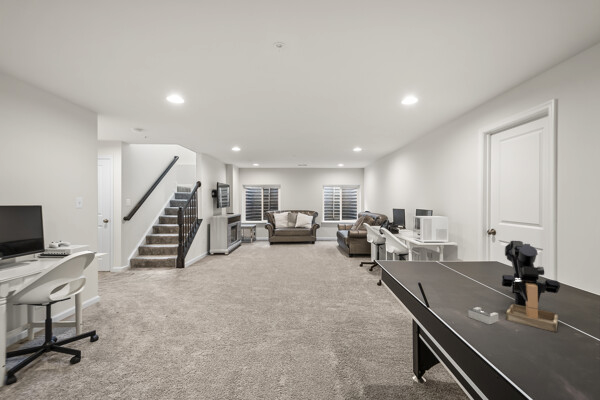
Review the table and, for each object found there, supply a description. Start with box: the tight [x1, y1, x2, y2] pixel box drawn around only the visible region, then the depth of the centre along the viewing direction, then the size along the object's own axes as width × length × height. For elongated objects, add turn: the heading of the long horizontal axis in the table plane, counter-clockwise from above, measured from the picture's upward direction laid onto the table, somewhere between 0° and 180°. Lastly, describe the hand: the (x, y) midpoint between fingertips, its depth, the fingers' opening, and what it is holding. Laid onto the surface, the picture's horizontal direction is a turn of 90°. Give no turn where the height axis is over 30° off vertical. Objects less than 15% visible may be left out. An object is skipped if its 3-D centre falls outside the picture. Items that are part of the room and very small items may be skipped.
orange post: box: [526, 283, 539, 319], centre depth 110 cm, size 4×3×13 cm, turn 149°
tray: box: [505, 303, 559, 333], centre depth 110 cm, size 15×15×3 cm
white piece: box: [468, 306, 500, 325], centre depth 111 cm, size 8×8×4 cm
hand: (532, 301), depth 109 cm, fingers closed on orange post, 3 cm apart
